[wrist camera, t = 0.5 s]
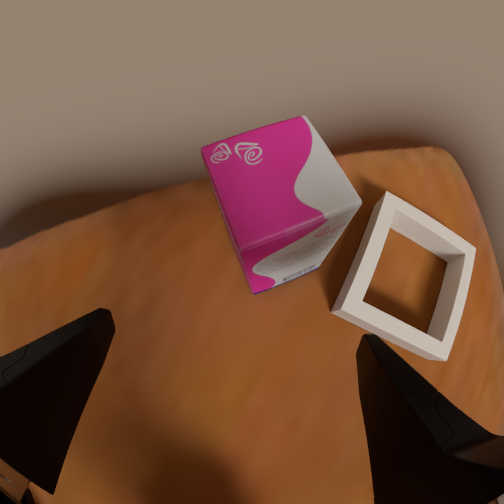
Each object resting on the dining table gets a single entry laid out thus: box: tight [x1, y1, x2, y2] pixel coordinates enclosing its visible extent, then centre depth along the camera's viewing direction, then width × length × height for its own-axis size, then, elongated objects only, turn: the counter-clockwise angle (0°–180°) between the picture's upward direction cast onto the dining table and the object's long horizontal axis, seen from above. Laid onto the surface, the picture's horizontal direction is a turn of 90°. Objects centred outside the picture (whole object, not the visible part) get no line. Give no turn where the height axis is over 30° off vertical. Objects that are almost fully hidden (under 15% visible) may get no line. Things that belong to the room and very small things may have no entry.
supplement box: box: [201, 115, 362, 294], centre depth 17 cm, size 6×6×12 cm
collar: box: [331, 191, 476, 361], centre depth 20 cm, size 10×10×3 cm
